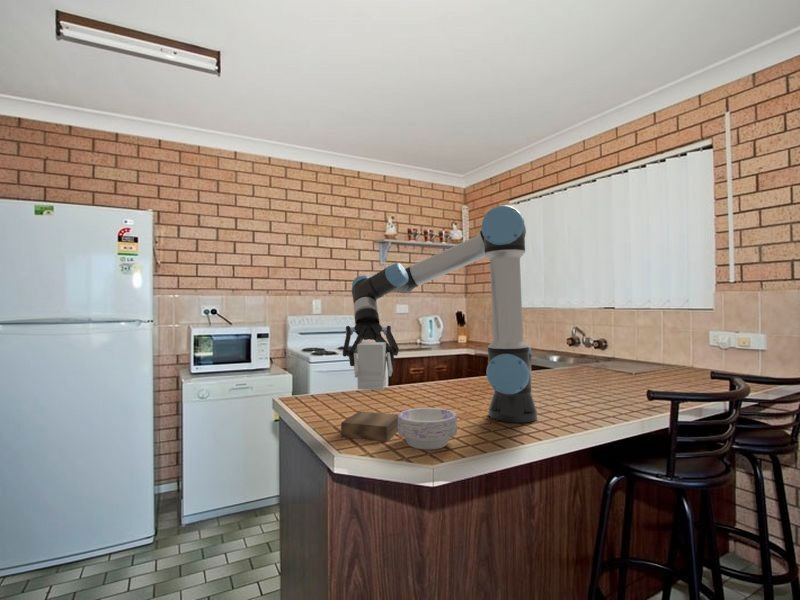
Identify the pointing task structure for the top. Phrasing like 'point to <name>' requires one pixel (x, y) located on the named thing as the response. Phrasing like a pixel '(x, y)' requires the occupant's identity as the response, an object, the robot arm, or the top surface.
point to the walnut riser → (370, 426)
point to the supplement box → (371, 365)
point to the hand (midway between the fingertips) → (373, 373)
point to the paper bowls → (427, 427)
